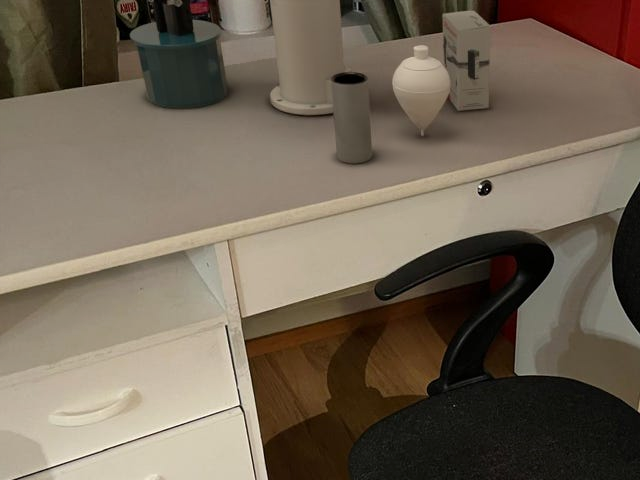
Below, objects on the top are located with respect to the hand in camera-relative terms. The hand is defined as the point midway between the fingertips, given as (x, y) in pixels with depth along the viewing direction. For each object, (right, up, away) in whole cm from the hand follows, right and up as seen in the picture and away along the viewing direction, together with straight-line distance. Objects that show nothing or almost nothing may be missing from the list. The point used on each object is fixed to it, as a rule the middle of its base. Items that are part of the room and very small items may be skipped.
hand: (175, 30), depth 123 cm
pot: (0, -7, +6) cm, 9 cm away
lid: (0, -1, 0) cm, 1 cm away
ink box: (+41, -8, +7) cm, 42 cm away
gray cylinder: (+27, -21, -11) cm, 36 cm away
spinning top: (+35, -16, -5) cm, 39 cm away
